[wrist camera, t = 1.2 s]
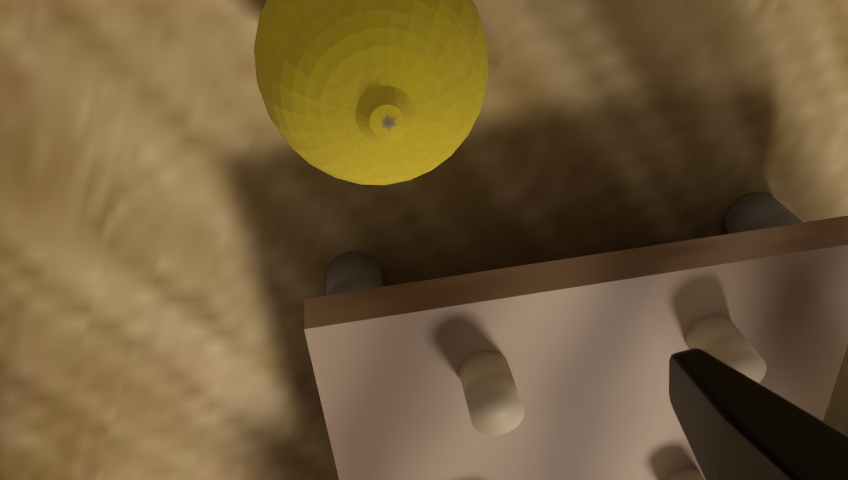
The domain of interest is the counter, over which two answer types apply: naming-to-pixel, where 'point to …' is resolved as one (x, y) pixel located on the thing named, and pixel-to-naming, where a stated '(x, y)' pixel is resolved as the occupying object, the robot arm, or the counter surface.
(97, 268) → the counter surface
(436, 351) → the peg shelf
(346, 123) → the lemon
